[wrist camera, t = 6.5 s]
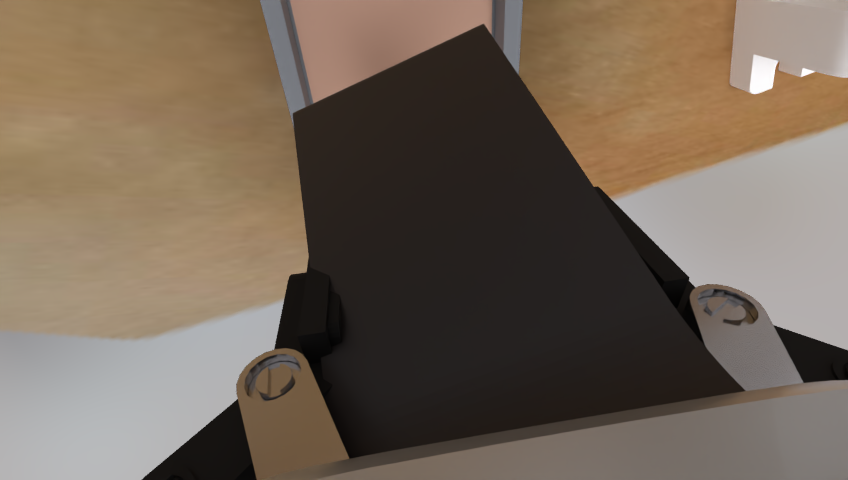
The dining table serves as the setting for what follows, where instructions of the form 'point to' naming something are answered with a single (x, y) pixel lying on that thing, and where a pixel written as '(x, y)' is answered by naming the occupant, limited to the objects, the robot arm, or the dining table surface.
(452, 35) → the grey tray
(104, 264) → the dining table surface
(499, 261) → the phone stand
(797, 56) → the cable organizer
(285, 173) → the dining table surface
